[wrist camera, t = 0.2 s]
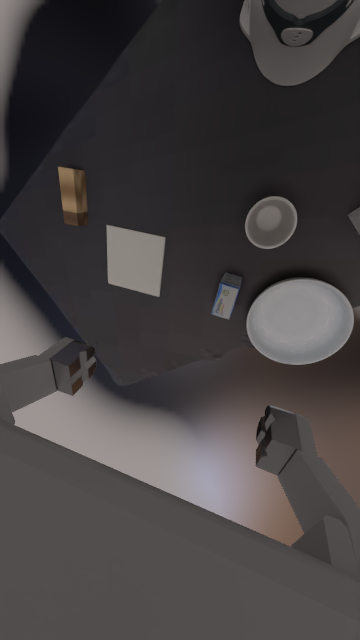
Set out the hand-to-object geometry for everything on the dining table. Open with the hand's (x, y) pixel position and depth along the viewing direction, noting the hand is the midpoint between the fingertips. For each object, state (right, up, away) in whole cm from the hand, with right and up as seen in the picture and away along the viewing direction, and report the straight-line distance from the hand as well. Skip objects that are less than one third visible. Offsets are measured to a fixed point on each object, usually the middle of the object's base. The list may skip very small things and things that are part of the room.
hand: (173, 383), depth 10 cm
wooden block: (-25, +34, +47) cm, 63 cm away
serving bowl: (+28, +5, +45) cm, 53 cm away
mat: (-12, +18, +51) cm, 56 cm away
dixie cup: (+19, +24, +37) cm, 48 cm away
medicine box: (+13, +11, +47) cm, 50 cm away
